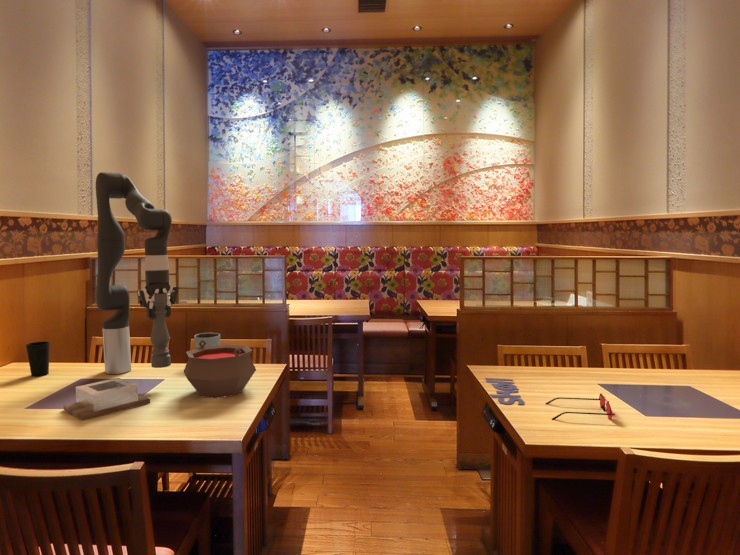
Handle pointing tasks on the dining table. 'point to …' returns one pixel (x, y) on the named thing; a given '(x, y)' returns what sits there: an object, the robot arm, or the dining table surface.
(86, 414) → the socket board
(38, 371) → the cup
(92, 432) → the dining table surface
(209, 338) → the grey cylindrical container
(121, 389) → the square collar
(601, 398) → the glasses
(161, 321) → the candle holder
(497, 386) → the signage
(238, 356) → the brown cauldron
